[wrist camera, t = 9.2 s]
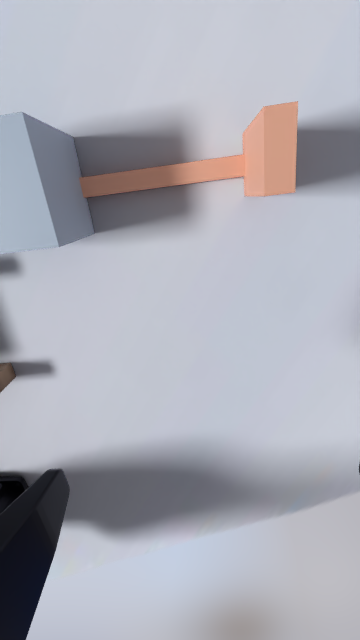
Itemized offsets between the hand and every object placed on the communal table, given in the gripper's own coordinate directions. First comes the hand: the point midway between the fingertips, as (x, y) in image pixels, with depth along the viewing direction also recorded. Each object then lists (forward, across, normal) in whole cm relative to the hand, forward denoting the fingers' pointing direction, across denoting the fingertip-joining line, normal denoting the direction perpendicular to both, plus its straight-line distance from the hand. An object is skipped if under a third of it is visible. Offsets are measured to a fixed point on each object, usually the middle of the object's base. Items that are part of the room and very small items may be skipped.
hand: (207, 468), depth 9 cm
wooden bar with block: (+11, +3, -9) cm, 15 cm away
